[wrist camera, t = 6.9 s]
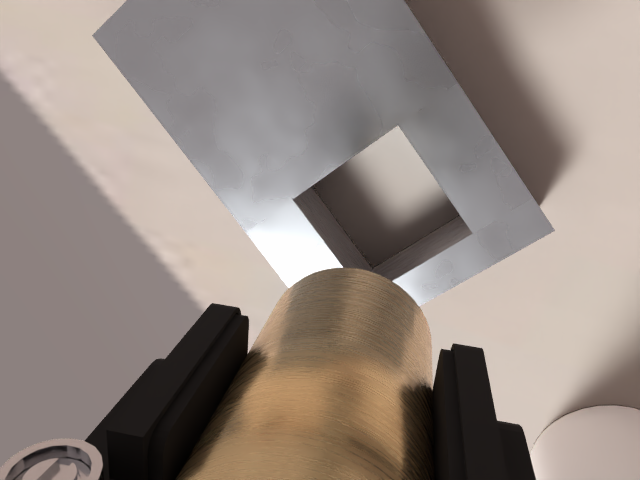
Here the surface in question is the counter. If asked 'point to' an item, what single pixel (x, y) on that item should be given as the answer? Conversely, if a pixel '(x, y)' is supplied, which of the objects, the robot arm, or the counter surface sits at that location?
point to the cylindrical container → (590, 446)
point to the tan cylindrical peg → (328, 389)
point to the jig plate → (321, 126)
